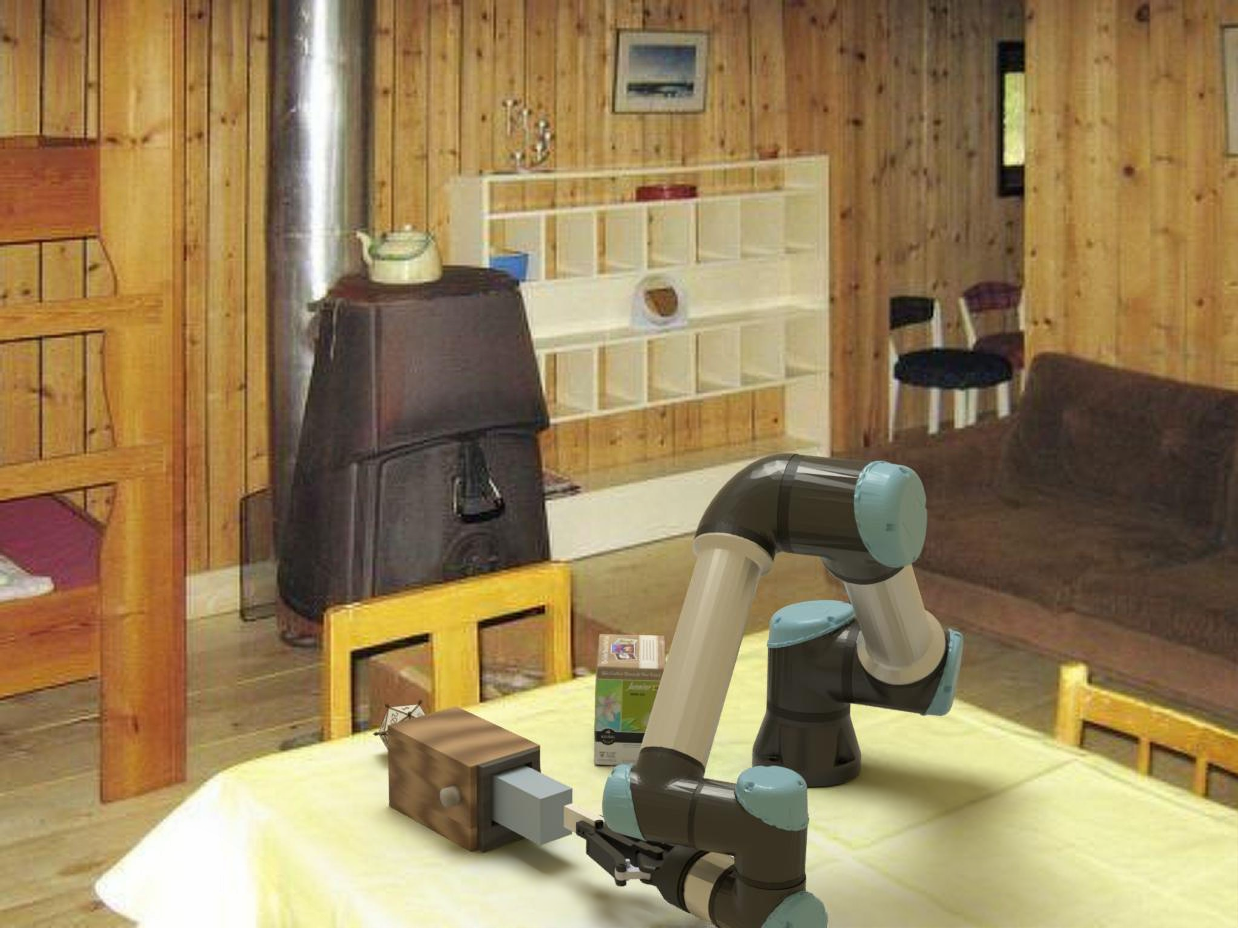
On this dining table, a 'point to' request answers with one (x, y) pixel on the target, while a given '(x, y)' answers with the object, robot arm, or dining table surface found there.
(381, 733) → the game die
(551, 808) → the peg
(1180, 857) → the dining table surface
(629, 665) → the tea box
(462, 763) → the wooden peg box
